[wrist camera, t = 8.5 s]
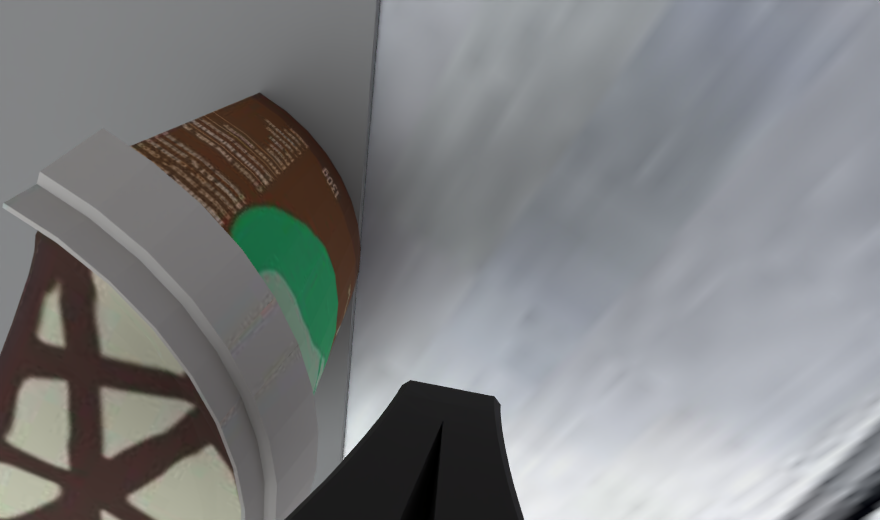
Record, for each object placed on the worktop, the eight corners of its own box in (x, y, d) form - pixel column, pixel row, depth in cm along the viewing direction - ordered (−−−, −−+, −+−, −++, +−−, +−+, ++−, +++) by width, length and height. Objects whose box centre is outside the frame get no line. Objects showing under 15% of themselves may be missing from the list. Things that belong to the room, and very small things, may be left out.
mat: (389, -114, 16) (385, -115, 16) (339, 502, 25) (335, 510, 25) (-232, -203, 18) (-248, -205, 17) (-66, 416, 27) (-75, 422, 26)
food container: (296, 452, 24) (145, 765, 15) (136, 365, 23) (-118, 639, 15) (484, 168, 19) (417, 401, 10) (281, 42, 18) (10, 170, 9)
